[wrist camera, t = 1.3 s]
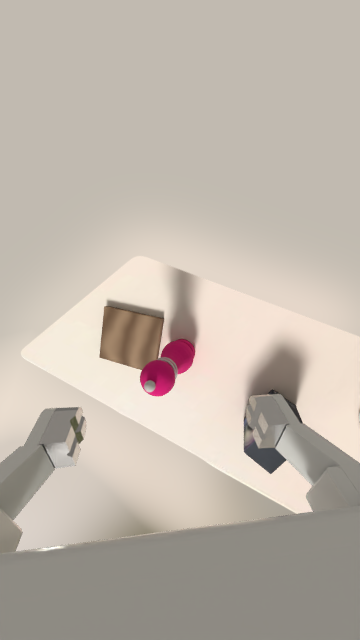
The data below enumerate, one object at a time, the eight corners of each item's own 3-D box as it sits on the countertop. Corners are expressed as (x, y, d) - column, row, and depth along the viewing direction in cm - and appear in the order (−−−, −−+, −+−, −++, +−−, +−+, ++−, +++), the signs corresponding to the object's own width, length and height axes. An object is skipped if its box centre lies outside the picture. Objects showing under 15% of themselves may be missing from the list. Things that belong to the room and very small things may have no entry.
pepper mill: (181, 330, 50) (144, 356, 31) (203, 351, 49) (179, 391, 30) (163, 351, 52) (118, 386, 33) (183, 371, 51) (150, 420, 32)
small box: (270, 386, 46) (279, 414, 36) (297, 405, 45) (313, 439, 35) (241, 419, 49) (242, 452, 39) (265, 437, 48) (272, 476, 38)
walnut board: (164, 318, 50) (161, 319, 49) (155, 371, 53) (153, 373, 52) (107, 306, 54) (104, 306, 53) (103, 355, 57) (99, 357, 56)
